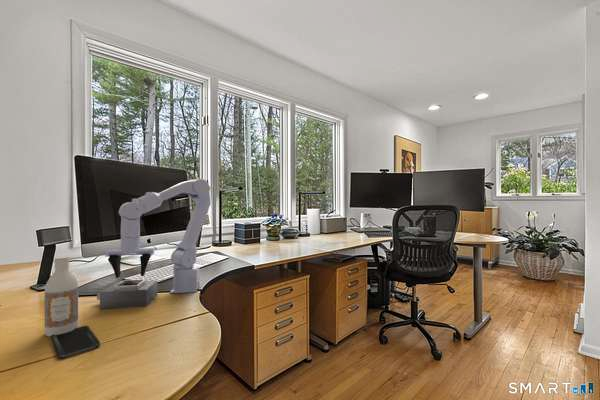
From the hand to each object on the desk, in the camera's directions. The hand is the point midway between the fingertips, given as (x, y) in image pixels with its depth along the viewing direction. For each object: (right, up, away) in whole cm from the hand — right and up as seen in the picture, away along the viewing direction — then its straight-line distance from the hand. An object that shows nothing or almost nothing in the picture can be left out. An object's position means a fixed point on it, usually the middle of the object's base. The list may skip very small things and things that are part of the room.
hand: (130, 276), depth 98 cm
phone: (+3, -10, -27) cm, 29 cm away
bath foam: (-5, -9, -22) cm, 24 cm away
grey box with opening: (-1, -9, 0) cm, 9 cm away
